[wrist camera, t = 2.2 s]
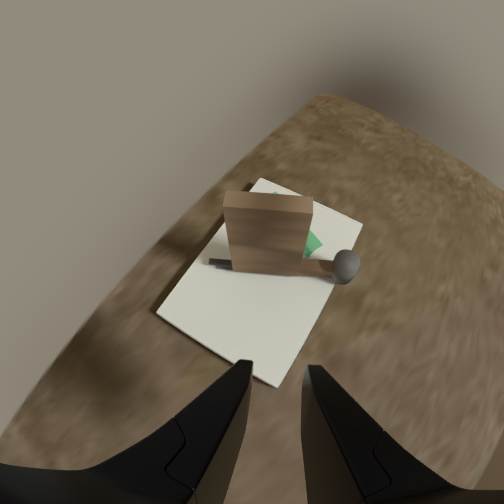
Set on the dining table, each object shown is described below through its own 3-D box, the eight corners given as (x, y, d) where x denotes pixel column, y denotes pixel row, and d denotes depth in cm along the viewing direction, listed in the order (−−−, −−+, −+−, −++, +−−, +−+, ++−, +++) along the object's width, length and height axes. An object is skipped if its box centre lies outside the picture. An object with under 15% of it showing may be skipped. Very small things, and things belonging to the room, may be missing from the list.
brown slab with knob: (352, 262, 24) (385, 200, 17) (353, 285, 23) (390, 227, 16) (211, 251, 24) (194, 183, 18) (207, 273, 23) (186, 210, 17)
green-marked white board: (360, 230, 27) (363, 223, 26) (276, 389, 20) (277, 387, 19) (260, 184, 30) (260, 177, 29) (159, 316, 23) (155, 311, 22)
